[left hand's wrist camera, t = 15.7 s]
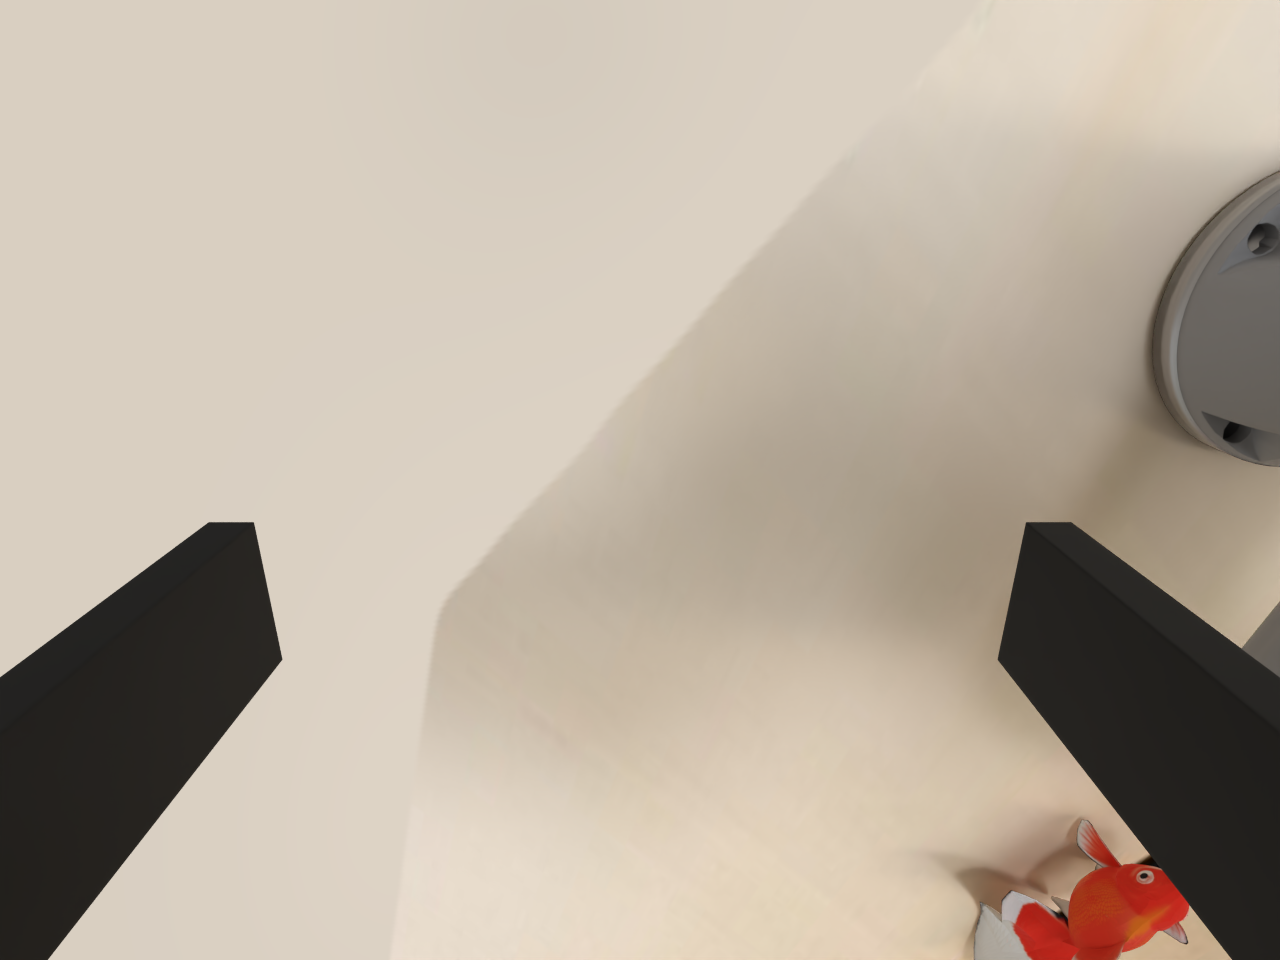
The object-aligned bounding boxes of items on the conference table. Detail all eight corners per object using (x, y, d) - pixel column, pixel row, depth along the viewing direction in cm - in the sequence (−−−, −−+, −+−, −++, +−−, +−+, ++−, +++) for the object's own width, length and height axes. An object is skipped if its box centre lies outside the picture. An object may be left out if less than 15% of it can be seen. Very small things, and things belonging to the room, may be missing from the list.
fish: (1250, 942, 47) (1274, 1093, 39) (1010, 946, 56) (991, 1068, 49) (1162, 797, 47) (1169, 919, 39) (938, 826, 57) (907, 929, 49)
